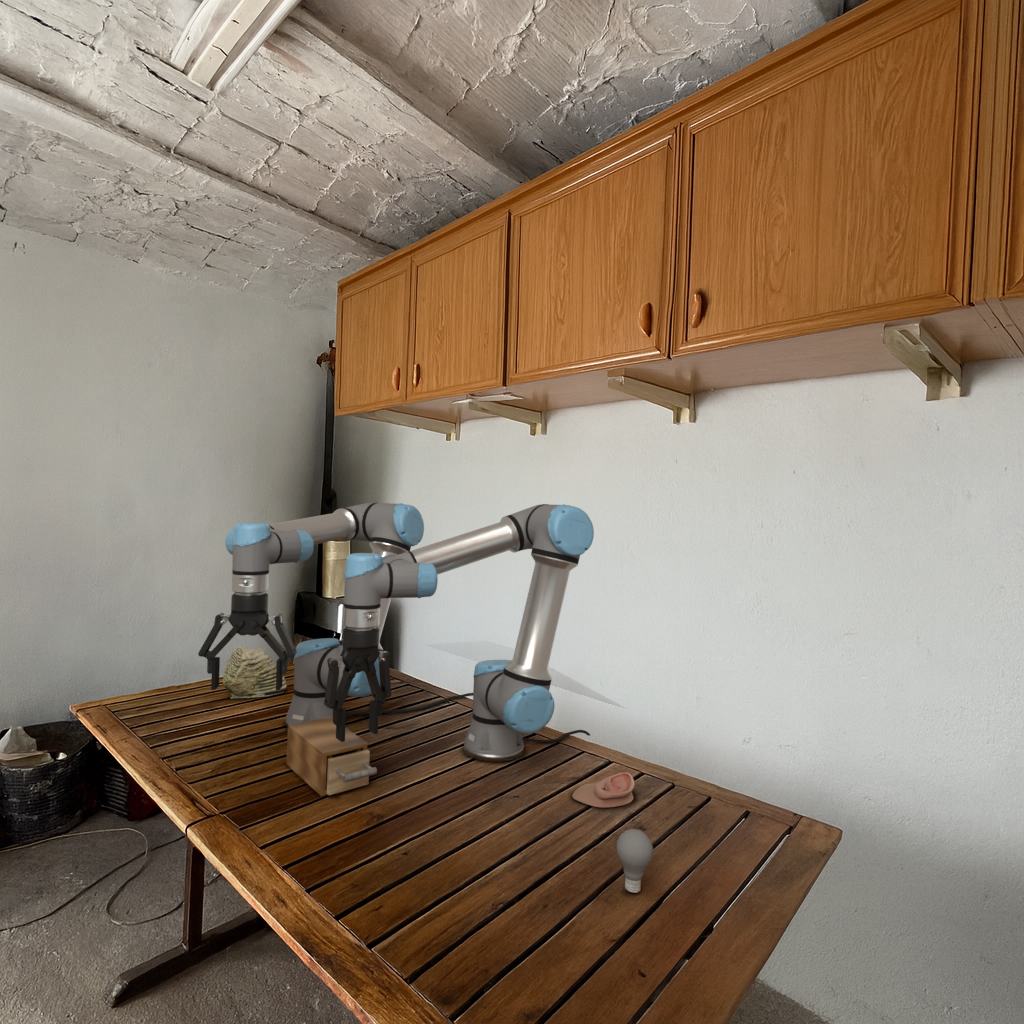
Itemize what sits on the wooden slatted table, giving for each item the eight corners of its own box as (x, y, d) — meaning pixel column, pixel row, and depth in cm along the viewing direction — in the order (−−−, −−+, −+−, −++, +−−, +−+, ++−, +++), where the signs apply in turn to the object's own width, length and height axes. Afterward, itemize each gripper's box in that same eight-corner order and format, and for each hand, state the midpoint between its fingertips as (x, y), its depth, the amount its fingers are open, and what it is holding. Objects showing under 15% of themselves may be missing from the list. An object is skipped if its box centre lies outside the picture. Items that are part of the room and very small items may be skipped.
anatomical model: (571, 785, 135) (576, 763, 146) (570, 803, 135) (575, 781, 146) (634, 793, 132) (635, 771, 144) (633, 812, 132) (634, 788, 144)
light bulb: (610, 879, 108) (613, 822, 108) (644, 879, 109) (647, 822, 109) (619, 902, 102) (622, 840, 102) (655, 901, 103) (658, 840, 103)
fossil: (218, 695, 195) (220, 647, 195) (278, 685, 208) (279, 640, 207) (228, 703, 189) (230, 653, 188) (289, 692, 201) (290, 645, 201)
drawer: (380, 793, 134) (382, 759, 134) (340, 805, 128) (341, 769, 128) (332, 755, 152) (333, 725, 152) (294, 765, 146) (296, 733, 146)
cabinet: (365, 784, 141) (367, 742, 140) (321, 796, 134) (322, 753, 134) (328, 754, 156) (329, 716, 155) (286, 764, 149) (287, 725, 149)
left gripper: (183, 594, 135) (181, 693, 135) (304, 596, 138) (301, 693, 138) (197, 588, 142) (194, 682, 143) (311, 591, 145) (308, 683, 146)
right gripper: (323, 635, 124) (319, 752, 124) (411, 625, 136) (407, 731, 137) (308, 628, 129) (304, 740, 130) (393, 619, 142) (389, 721, 142)
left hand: (247, 688), depth 140 cm, fingers open, 13 cm apart
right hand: (357, 735), depth 133 cm, fingers open, 7 cm apart
